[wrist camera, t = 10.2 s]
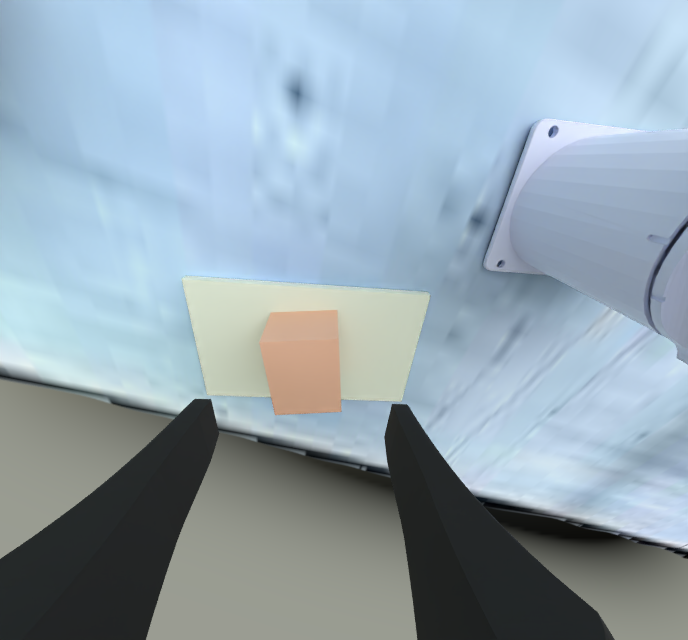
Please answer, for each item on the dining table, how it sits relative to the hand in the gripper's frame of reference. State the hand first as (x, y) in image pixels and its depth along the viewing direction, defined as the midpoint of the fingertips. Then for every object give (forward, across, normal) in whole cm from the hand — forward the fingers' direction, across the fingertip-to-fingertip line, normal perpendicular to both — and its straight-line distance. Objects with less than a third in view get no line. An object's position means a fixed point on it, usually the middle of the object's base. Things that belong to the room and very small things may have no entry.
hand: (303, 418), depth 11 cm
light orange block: (+9, 0, +3) cm, 9 cm away
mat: (+9, 0, +3) cm, 10 cm away
